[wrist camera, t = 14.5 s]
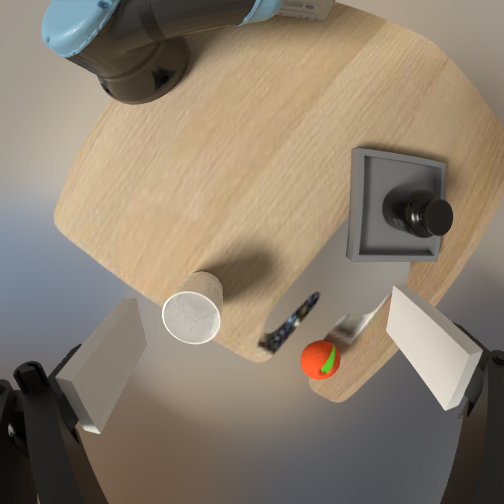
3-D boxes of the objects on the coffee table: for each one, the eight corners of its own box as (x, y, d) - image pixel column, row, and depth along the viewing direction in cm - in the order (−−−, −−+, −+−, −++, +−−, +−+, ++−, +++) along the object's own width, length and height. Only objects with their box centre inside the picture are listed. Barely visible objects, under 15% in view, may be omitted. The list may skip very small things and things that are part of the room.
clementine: (310, 323, 47) (318, 346, 40) (343, 333, 48) (356, 355, 41) (291, 359, 49) (296, 384, 42) (324, 367, 49) (333, 390, 42)
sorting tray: (351, 149, 40) (358, 147, 37) (436, 163, 40) (445, 163, 37) (345, 256, 44) (352, 261, 41) (428, 256, 44) (437, 261, 41)
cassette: (254, 13, 34) (254, -11, 26) (254, 6, 33) (255, -19, 26) (325, 23, 34) (336, 0, 27) (325, 15, 34) (336, -7, 26)
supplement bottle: (416, 223, 42) (460, 238, 30) (383, 232, 42) (423, 250, 31) (411, 183, 40) (456, 188, 28) (377, 190, 40) (417, 196, 29)
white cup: (189, 259, 44) (173, 281, 34) (234, 279, 45) (230, 307, 35) (172, 300, 46) (155, 329, 36) (215, 319, 47) (207, 352, 37)
